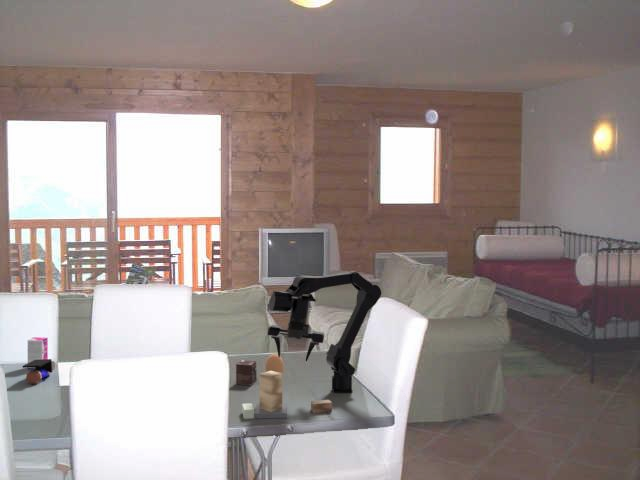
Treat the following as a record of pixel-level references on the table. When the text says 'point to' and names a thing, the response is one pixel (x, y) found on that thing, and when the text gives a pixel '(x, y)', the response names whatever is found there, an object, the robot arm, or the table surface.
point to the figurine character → (39, 370)
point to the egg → (274, 364)
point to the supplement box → (37, 349)
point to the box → (246, 372)
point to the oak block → (270, 390)
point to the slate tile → (267, 414)
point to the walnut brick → (321, 406)
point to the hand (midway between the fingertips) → (292, 359)
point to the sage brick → (248, 411)
